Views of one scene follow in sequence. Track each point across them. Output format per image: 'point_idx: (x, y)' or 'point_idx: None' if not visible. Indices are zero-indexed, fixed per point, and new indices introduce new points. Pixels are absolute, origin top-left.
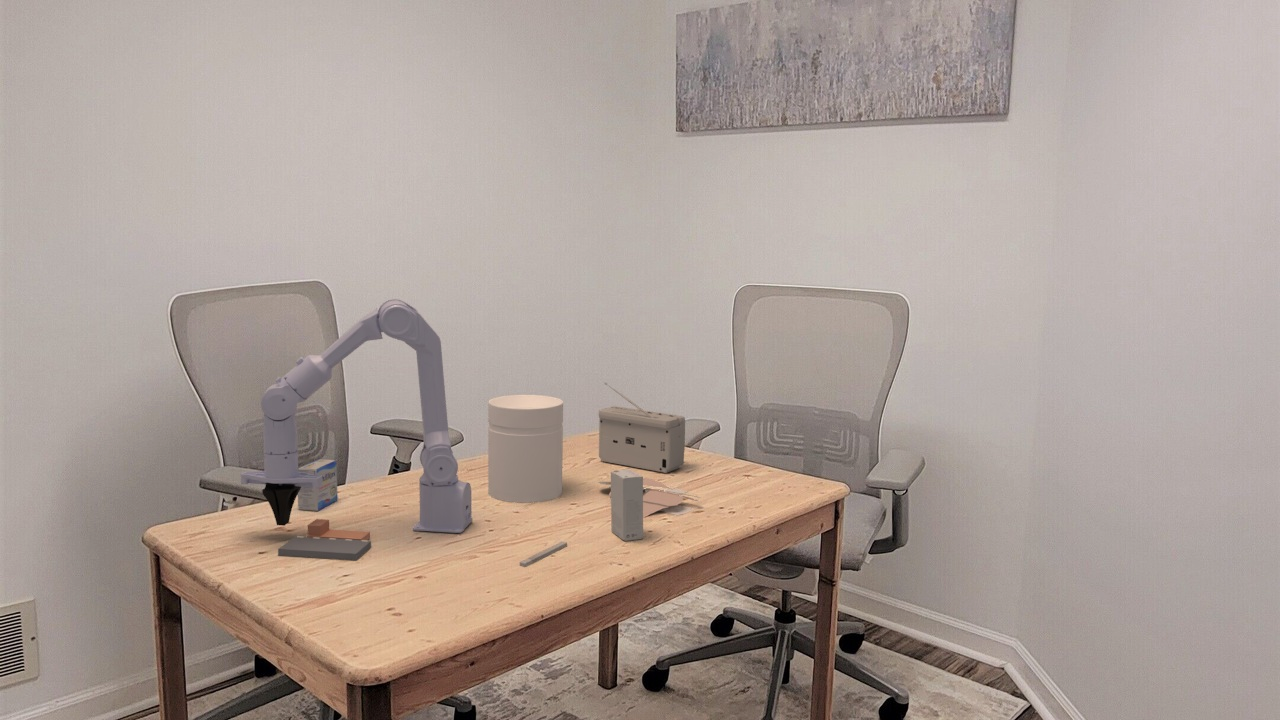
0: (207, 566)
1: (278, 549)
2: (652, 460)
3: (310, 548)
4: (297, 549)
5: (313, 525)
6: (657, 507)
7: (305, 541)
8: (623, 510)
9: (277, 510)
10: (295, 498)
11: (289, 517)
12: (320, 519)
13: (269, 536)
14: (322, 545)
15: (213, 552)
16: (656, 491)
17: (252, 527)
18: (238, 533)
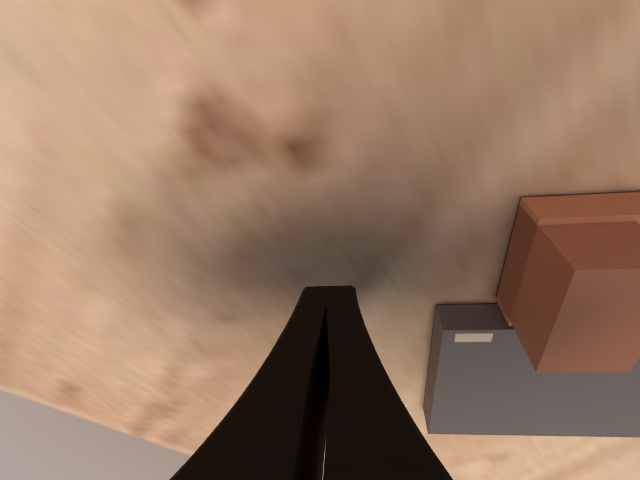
0: None
1: (429, 431)
2: None
3: (566, 422)
4: (511, 432)
5: (577, 369)
6: None
7: (519, 372)
8: None
9: (324, 451)
10: (424, 439)
11: (358, 309)
12: (612, 275)
13: (255, 258)
14: (618, 396)
15: (187, 410)
16: None
17: (49, 154)
18: (80, 251)
